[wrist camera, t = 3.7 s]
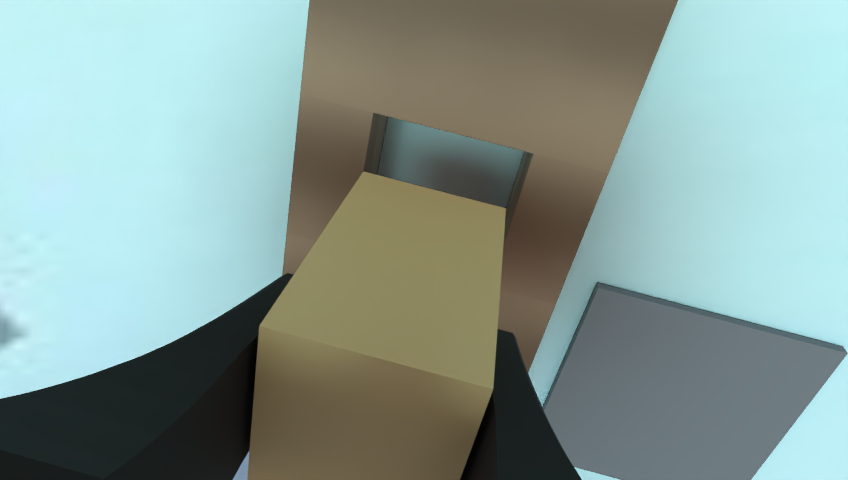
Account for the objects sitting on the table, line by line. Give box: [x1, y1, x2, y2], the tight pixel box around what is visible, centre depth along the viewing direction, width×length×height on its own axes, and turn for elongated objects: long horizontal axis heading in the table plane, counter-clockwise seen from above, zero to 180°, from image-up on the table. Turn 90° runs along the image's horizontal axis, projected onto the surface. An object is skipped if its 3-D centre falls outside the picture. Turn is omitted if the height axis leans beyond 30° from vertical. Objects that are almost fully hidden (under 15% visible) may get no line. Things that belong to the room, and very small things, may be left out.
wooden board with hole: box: [282, 0, 678, 372], centre depth 21 cm, size 20×10×3 cm, turn 168°
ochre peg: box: [247, 171, 506, 480], centre depth 13 cm, size 4×4×7 cm
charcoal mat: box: [542, 283, 848, 480], centre depth 25 cm, size 10×10×1 cm
